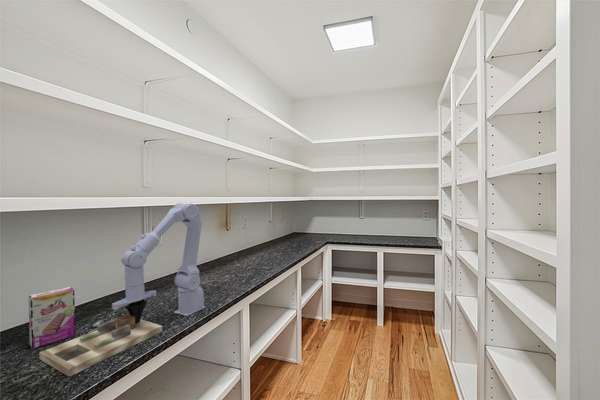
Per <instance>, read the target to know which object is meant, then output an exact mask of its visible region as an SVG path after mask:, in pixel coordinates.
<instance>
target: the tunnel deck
mask: <svg viewBox="0 0 600 400" xmlns="http://www.w3.org/2000/svg"><path fill="white" fill-rule="evenodd" d="M96 327H97V329H96V330H93V331H91V332H89V333H86V334H83V335H81V336H78V337H76V338H74V339H71V340H68V341H65V342H63V343H60V344H58V345H55V346H53V347H49V348H47V349H45V350H43V351H40V352H39V353H38V354H39V355H38V356H39V360H41V361H42V362H43V363H45V364H47V365H49V366H50V367H52V368H53V369H55V370H57V371H58V372H61V373H62V374H64V375H65V376H66V377H71V376H73V375H76V374H77V373H80V372H81V371H84V370H86V369H87V368H88V369H89V368H90V367H92V366H94V365H97V364H99V363H100V362H103V361H104V360H107V359H108V358H111V357H113V356H115V355H117V354H119V353H121V352H123V351H125V350H127V349H129V348H131V347H133V346H135V345H137V344H140V343H141V342H143V341H146V340H148V339H150V338H152V337H154V336H156V335H158V334H160V333H162V332H163V325H160V324H157V323H154V322H151V321H147V320H144V319H142V318H141V319H140V323H137V324H135V328H134V329H132V330H130V325H128V324H127V325H125V326H123V327H120V328H118V329H116V319H111V320H109V321H106V322H104V323H101V324H97V326H96Z"/></svg>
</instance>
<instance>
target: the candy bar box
mask: <svg viewBox="0 0 600 400" xmlns="http://www.w3.org/2000/svg"><path fill="white" fill-rule="evenodd" d="M75 304H76V303H75V288H73V287H72V286H67V287H64V288H63V287H62V288H58V289H53V290H49V291H43V292H37V293H34V294H30V295H28V320H29V321H28V323H29V325H28V327H29V328H28V329H29V345H30V347H31V350H36V349H38V348H42V347H45V346H47V345H51V344H54V343H57V342H60V341H63V340H66V339H69V338H73V337H75V336H76V305H75Z"/></svg>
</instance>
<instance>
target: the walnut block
mask: <svg viewBox="0 0 600 400" xmlns="http://www.w3.org/2000/svg"><path fill="white" fill-rule="evenodd" d="M115 320H116V329H118V328H120V327H123V326H125V325H127V324H128V325H130V330H132V329H134V328H135V317H134V316H131V315H130V314H126V315H123V316H120V317H118V318H116V319H115Z"/></svg>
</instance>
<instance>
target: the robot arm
mask: <svg viewBox="0 0 600 400" xmlns="http://www.w3.org/2000/svg"><path fill="white" fill-rule="evenodd" d="M200 210H201V209H199V207H198V206H197V205H196V204H195V203H192V202H191V203H176V204H174V205H173V207H171V208H170V209H169V210H168V212H167V214H166V215H165V216H164V217H163V219H161V221H160V222H159V223H158V224H157V225H156V227H155V228H154V230H153V231H151V232H146V233H145V234H142V235H141V236H140V239H139V240H138V241H137V242H136V244H134V245H132V246H131V247H130V250H126V251H125V252H124V253H123V255H122V258H121V259H120V262H121V263H122V264H123V265H124V283H125V285H124V286H125V287H124V288H125V297H124V298H122V299H120V300H117V301H115V302H112V303H111V309H112V311H113V310H114V311H117V310H119V309H120V308H123V307H125V309H126V310H127V312H128V313H129V314H128V315H131V316H134V317H135V324H137V323H140V319H142V318H141V317H142V314H143V312H144V309H145V307H146V305H147V300H146V299H149V298H152V297H156V296H157V290H154V289H152V290H148V291H145V272H144V270H145V269H144V265H145V264H146V263H147V261H148V259H147V258H148V257H149V255H150V254H151V253H152V252H153V250H155V248H157V246H158V245H159V244H160V243H161V240H160V238H161V237H162V236H163V235H164V234H165V233H166V232H167V231H168V230H169V229H170V228H171V227H172V226H173V225H174V224H175V223H178V222H182V223H183V224H184V225H185V226H186V234H185V242H184V248H183V256H182V263H181V266H179V268H178V269H177V274H176V275H175V277H174V284H175V286H176V287H177V294H178V295H177V297H178V299H177V300H178V309H177V310H175V311H173V313H174V314H176V315H177V314H178V315H182V316H184V317H189V316H190V315H193V314H195V313H197V312H199V311H201V310H203V309H205V308H206V306H205V300H204V299H205V296H204V290H203V288H202V287H201V286H200V284H201V278H200V277H201V276H200V270H199V268H198V267H197V261H198V255H199V254H198V253H199V246H200V241H201V240H200V239H201V230H202V219H201V216H200V213H201V212H200Z"/></svg>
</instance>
